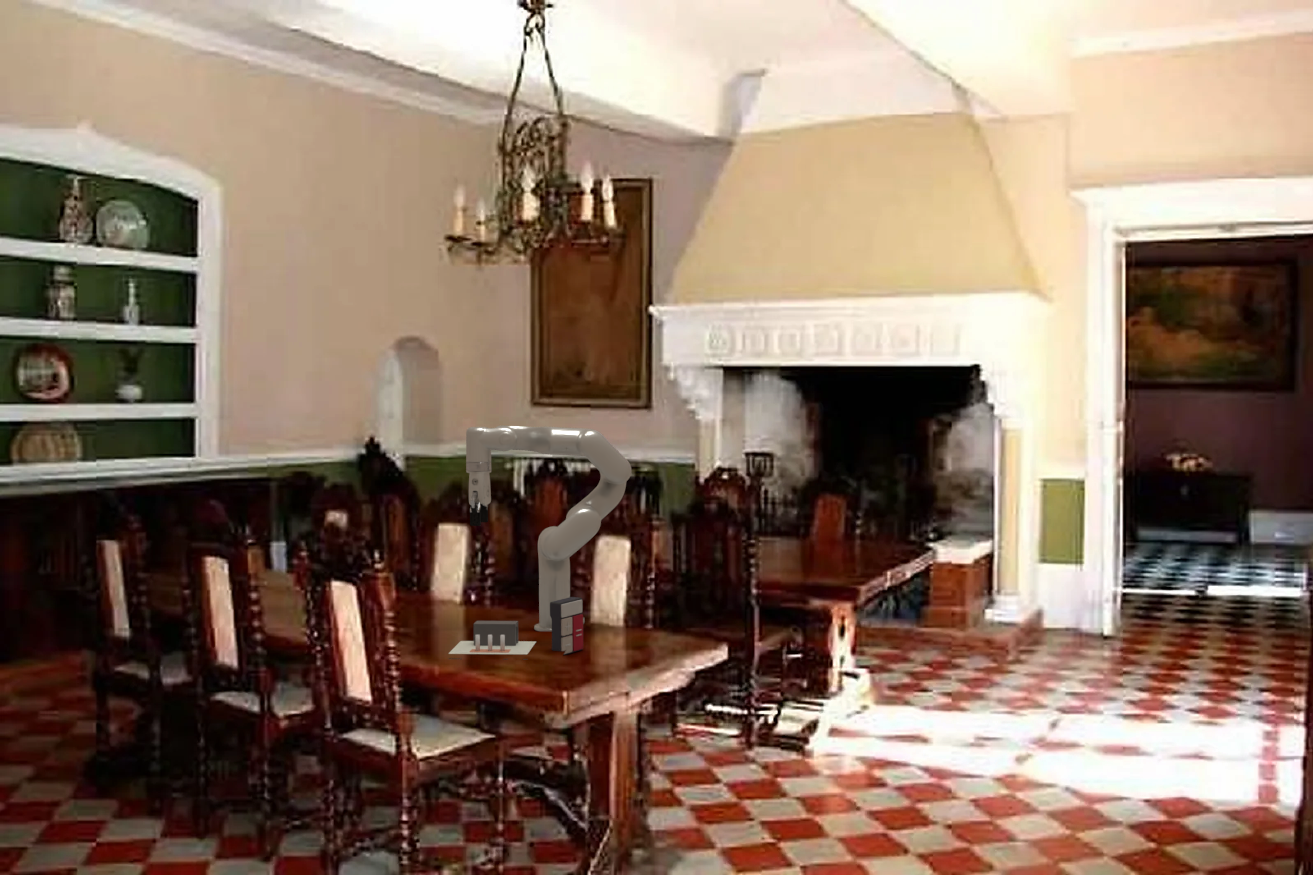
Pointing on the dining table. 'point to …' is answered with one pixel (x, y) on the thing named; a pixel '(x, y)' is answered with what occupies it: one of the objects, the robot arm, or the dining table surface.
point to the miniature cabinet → (567, 624)
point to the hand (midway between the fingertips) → (479, 523)
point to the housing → (496, 632)
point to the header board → (491, 647)
